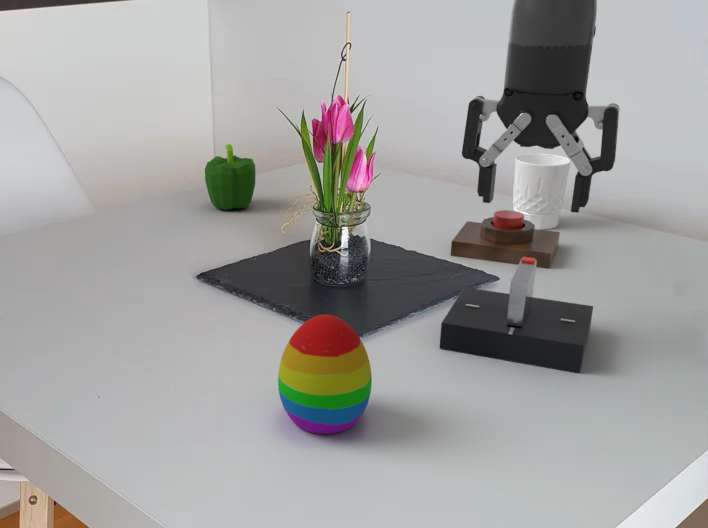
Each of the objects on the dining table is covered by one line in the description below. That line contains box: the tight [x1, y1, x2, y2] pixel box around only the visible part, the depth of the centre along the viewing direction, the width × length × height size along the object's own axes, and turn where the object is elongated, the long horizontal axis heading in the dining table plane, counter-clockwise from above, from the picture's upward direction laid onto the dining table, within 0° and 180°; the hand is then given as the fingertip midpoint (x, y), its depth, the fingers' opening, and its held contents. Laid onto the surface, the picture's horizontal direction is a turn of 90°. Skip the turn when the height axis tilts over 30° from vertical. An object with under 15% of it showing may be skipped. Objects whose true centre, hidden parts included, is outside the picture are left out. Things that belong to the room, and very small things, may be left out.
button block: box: [450, 216, 561, 270], centre depth 116 cm, size 13×10×4 cm
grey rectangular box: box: [506, 257, 537, 327], centre depth 88 cm, size 7×2×5 cm, turn 156°
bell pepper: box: [204, 143, 256, 211], centre depth 136 cm, size 8×8×10 cm
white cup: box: [512, 153, 572, 230], centre depth 126 cm, size 8×8×10 cm
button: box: [493, 209, 524, 229], centre depth 115 cm, size 4×4×2 cm
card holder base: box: [439, 286, 594, 374], centre depth 89 cm, size 14×11×3 cm
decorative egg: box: [277, 313, 373, 435], centre depth 73 cm, size 8×8×10 cm
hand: (531, 205), depth 84 cm, fingers open, 8 cm apart
